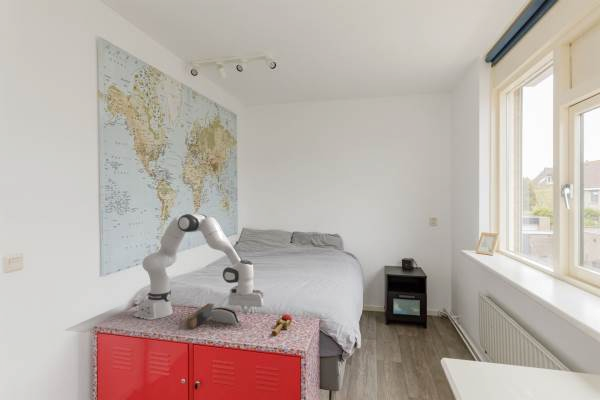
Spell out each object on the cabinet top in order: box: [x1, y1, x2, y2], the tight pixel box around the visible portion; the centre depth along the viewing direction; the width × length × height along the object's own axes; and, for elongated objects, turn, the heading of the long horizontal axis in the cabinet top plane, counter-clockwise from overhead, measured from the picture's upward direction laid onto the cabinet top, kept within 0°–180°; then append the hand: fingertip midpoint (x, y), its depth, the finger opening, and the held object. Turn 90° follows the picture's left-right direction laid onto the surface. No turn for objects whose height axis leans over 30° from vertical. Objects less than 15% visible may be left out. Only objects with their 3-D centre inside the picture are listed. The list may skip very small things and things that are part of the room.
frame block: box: [185, 303, 215, 330], centre depth 176 cm, size 4×24×6 cm, turn 168°
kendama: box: [271, 313, 293, 337], centre depth 164 cm, size 8×6×18 cm
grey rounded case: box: [211, 306, 241, 326], centre depth 174 cm, size 17×5×10 cm, turn 69°
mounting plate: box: [196, 303, 213, 328], centre depth 176 cm, size 1×16×7 cm, turn 169°
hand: (245, 313), depth 172 cm, fingers closed
